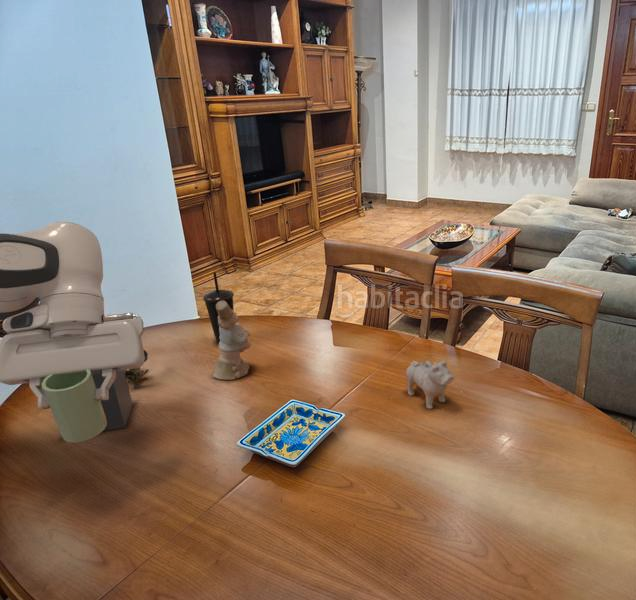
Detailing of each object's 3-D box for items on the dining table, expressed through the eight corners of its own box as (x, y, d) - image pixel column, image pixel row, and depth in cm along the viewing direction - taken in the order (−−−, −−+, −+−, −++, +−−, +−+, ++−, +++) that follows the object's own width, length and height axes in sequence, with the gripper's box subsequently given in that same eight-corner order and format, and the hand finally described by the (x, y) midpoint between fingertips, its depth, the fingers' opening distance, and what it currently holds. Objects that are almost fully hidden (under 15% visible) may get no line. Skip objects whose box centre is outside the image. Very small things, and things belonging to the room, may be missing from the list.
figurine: (231, 385, 118) (218, 306, 111) (207, 376, 122) (193, 299, 115) (260, 369, 125) (249, 293, 118) (236, 360, 129) (224, 287, 122)
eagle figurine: (161, 378, 120) (156, 356, 126) (137, 362, 115) (134, 340, 122) (134, 399, 119) (131, 376, 126) (110, 384, 114) (107, 361, 121)
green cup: (56, 446, 79) (35, 394, 74) (68, 418, 84) (49, 369, 79) (102, 438, 80) (84, 387, 76) (110, 412, 86) (95, 363, 81)
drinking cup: (210, 350, 135) (197, 279, 127) (212, 337, 142) (200, 269, 134) (240, 346, 137) (229, 275, 129) (240, 333, 144) (230, 266, 136)
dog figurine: (441, 418, 105) (442, 373, 101) (402, 391, 115) (401, 349, 110) (459, 408, 108) (461, 364, 104) (420, 383, 118) (420, 342, 113)
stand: (64, 438, 102) (41, 368, 95) (76, 413, 110) (55, 346, 103) (125, 427, 104) (106, 358, 98) (132, 403, 112) (115, 338, 106)
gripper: (147, 316, 88) (151, 396, 85) (11, 331, 83) (9, 417, 80) (137, 305, 82) (141, 390, 79) (-10, 321, 77) (-13, 413, 74)
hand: (73, 404), depth 79 cm, fingers closed on green cup, 6 cm apart
